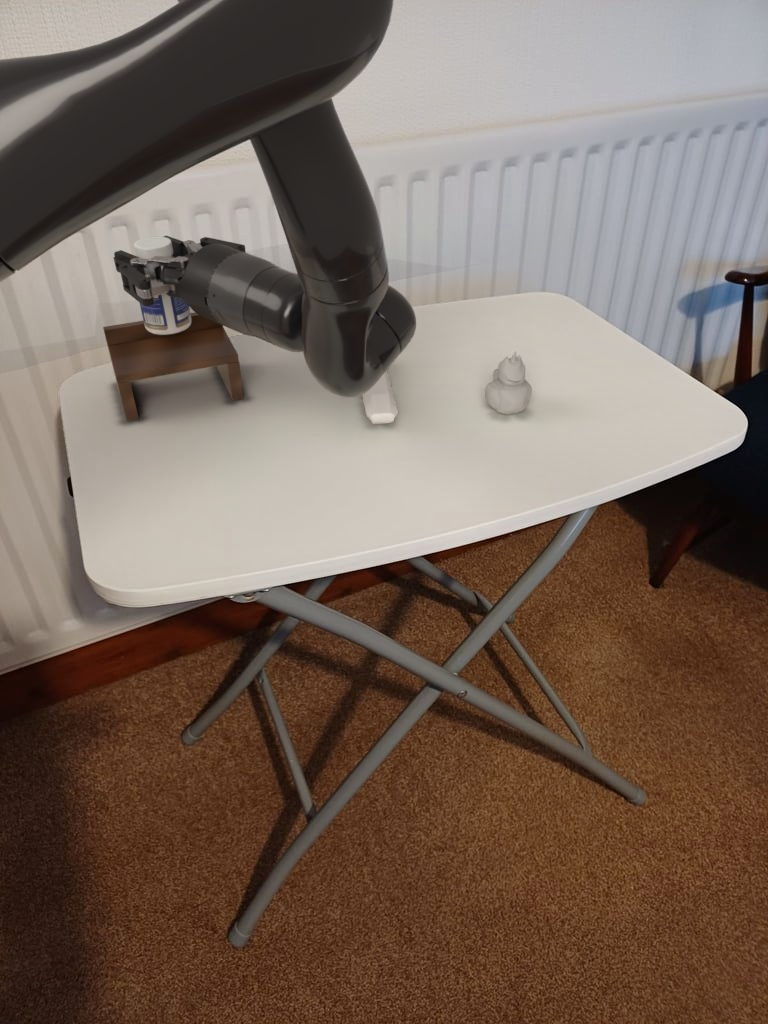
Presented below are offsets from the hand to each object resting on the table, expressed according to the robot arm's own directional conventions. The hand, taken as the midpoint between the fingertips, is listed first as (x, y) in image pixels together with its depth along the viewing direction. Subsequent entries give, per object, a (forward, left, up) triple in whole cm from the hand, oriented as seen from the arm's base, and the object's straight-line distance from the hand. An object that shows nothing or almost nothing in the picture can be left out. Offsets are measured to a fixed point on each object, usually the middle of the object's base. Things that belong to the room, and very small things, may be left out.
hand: (141, 252), depth 87 cm
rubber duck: (+11, -40, -17) cm, 45 cm away
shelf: (0, -2, -17) cm, 17 cm away
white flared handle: (+7, -25, -17) cm, 31 cm away
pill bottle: (-1, -2, -8) cm, 9 cm away
